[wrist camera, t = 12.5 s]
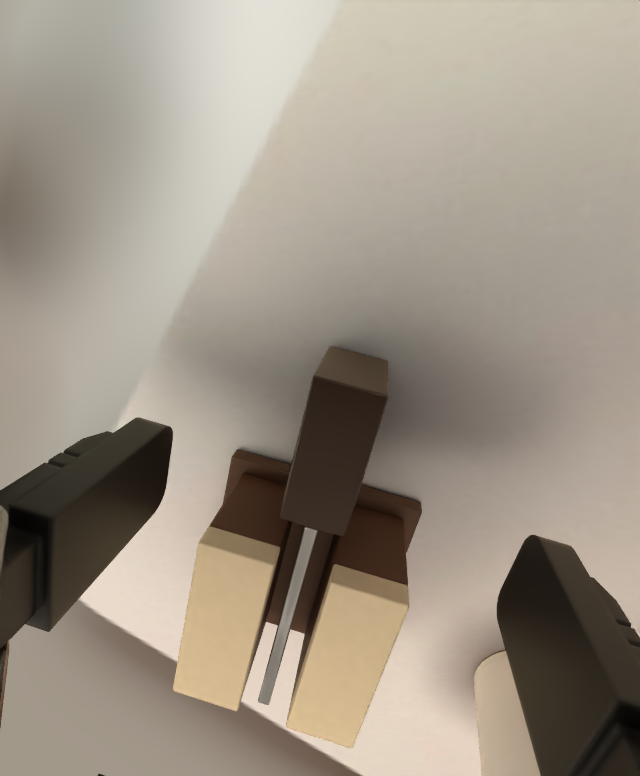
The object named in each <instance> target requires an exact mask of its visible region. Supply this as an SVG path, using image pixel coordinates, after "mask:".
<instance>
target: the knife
mask: <svg viewBox="0 0 640 776" xmlns="http://www.w3.org/2000/svg"><path fill="white" fill-rule="evenodd" d="M387 400H388V361H387V360H383V359H380V358H376V357H372V356H368V355H365V354H361V353H357V352H353V351H350V350H346V349H342V348H338V347H335V346H330V347H329V348H328V350H327V352H326V354H325V356H324V357H323V359H322V361H321V363H320V365H319V366H318V368H317V370H316V372H315V374H314V376H313V378H312V382H311V386H310V390H309V394H308V398H307V402H306V407H305V411H304V415H303V419H302V423H301V427H300V431H299V435H298V440H297V444H296V448H295V452H294V456H293V460H292V464H291V469H290V473H289V477H288V481H287V485H286V489H285V493H284V497H283V502H282V506H281V510H280V514H279V518H280V519H283V520H287V521H290V522H294V523H297V524H300V525H304V526H305V527H304V531H303V535H302V539H301V542H300V546H299V550H298V553H297V557H296V561H295V565H294V568H293V572H292V576H291V580H290V583H289V587H288V591H287V594H286V598H285V602H284V606H283V609H282V613H281V617H280V620H279V624H278V628H277V632H276V635H275V639H274V643H273V647H272V650H271V654H270V658H269V661H268V665H267V669H266V673H265V676H264V680H263V684H262V687H261V691H260V695H259V699H258V702H260V703H263V704H266V705H269V702H270V699H271V695H272V692H273V688H274V685H275V681H276V678H277V674H278V671H279V667H280V663H281V660H282V656H283V653H284V649H285V646H286V642H287V639H288V635H289V632H290V628H291V625H292V621H293V617H294V614H295V610H296V607H297V603H298V600H299V596H300V593H301V589H302V586H303V582H304V578H305V575H306V571H307V568H308V564H309V561H310V557H311V554H312V550H313V547H314V543H315V539H316V536H317V532H318V530H321V531H324V532H328V533H331V534H335V535H338V536H341V537H345V535H346V533H347V529H348V526H349V523H350V520H351V516H352V513H353V510H354V507H355V504H356V500H357V497H358V494H359V491H360V487H361V484H362V481H363V478H364V474H365V471H366V468H367V465H368V462H369V458H370V455H371V452H372V449H373V445H374V442H375V439H376V436H377V432H378V429H379V426H380V423H381V420H382V416H383V413H384V410H385V407H386V403H387Z"/></svg>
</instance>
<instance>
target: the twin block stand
mask: <svg viewBox="0 0 640 776" xmlns="http://www.w3.org/2000/svg"><path fill="white" fill-rule="evenodd" d="M290 469H291V465H289V464H286V463H282V462H279V461H275V460H272V459H268V458H265V457H262V456H258V455H255V454H251V453H248V452H244V451H241V450H237V451H236V452H235V453H234V455H233V456H232V460H231V465H230V470H229V475H228V480H227V486H226V491H225V496H224V501H223V505H222V507H221V508H220V510H219V512H218V513H217V515H216V516H215V518H214V520H213V521H212V523H211V524H210V526H209V527H208V529H207V530H206V532H205V534H204V535H203V537H202V538H201V540H200V541H199V544H198V549H197V555H196V561H195V566H194V572H193V578H192V583H191V589H190V595H189V600H188V606H187V612H186V617H185V623H184V629H183V634H182V640H181V646H180V651H179V657H178V663H177V669H176V674H175V680H174V686H173V691H176V692H179V693H182V694H185V695H188V696H191V697H194V698H198V699H201V700H203V701H207V702H210V703H213V704H216V705H219V706H222V707H225V708H228V709H231V710H234V711H237V710H238V708H239V705H240V701H241V698H242V695H243V692H244V689H245V685H246V683H247V679H248V676H249V673H250V670H251V667H252V664H253V661H254V657H255V654H256V651H257V648H258V645H259V642H260V639H261V635H262V632H263V629H264V626H265V623H266V622H269V623H272V624H275V625H278V624H279V620H280V617H281V613H282V609H283V606H284V602H285V598H286V594H287V591H288V587H289V583H290V580H291V576H292V572H293V568H294V565H295V561H296V557H297V553H298V550H299V546H300V542H301V539H302V535H303V531H304V527H305V526H304V525H300V524H297V523H294V522H290V521H287V520H283V519H280V518H279V514H280V510H281V506H282V502H283V497H284V493H285V489H286V485H287V481H288V477H289V473H290ZM421 513H422V509H421V503H420V502H418V501H414V500H411V499H407V498H404V497H400V496H397V495H393V494H390V493H386V492H383V491H379V490H376V489H372V488H369V487H366V486H362V485H361V487H360V491H359V494H358V497H357V500H356V504H355V507H354V510H353V513H352V516H351V520H350V523H349V526H348V529H347V533H346V535H345V537H341V536H338V535H335V534H331V533H328V532H324V531H321V530H318V532H317V536H316V539H315V543H314V547H313V550H312V554H311V557H310V561H309V564H308V568H307V571H306V575H305V578H304V582H303V586H302V589H301V593H300V596H299V600H298V603H297V607H296V610H295V614H294V617H293V621H292V625H291V628H290V629H292V630H295V631H298V632H301V633H304V634H305V636H304V641H303V646H302V651H301V655H300V660H299V665H298V670H297V674H296V679H295V684H294V689H293V694H292V698H291V703H290V708H289V713H288V718H287V722H286V727H287V728H290V729H293V730H296V731H299V732H302V733H305V734H309V735H312V736H315V737H318V738H321V739H324V740H327V741H330V742H333V743H336V744H339V745H342V746H345V747H349V748H353V745H354V743H355V740H356V738H357V735H358V733H359V730H360V728H361V725H362V723H363V720H364V718H365V715H366V713H367V710H368V708H369V706H370V703H371V701H372V698H373V696H374V693H375V691H376V688H377V686H378V683H379V681H380V678H381V676H382V673H383V671H384V668H385V666H386V663H387V661H388V658H389V656H390V653H391V651H392V648H393V646H394V643H395V641H396V638H397V636H398V633H399V631H400V628H401V626H402V623H403V621H404V618H405V616H406V613H407V611H408V608H409V595H408V578H407V562H406V552H407V550H408V547H409V545H410V542H411V539H412V537H413V534H414V531H415V529H416V526H417V523H418V521H419V518H420V515H421Z"/></svg>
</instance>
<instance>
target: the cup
mask: <svg viewBox="0 0 640 776" xmlns="http://www.w3.org/2000/svg"><path fill="white" fill-rule="evenodd" d="M474 686H475V700H476V711H477V727H478V738H479V749H480V760H481V771H482V776H541V775H540V772H539V768H538V765H537V761H536V757H535V754H534V750H533V747H532V743H531V739H530V736H529V732H528V729H527V725H526V721H525V718H524V714H523V711H522V707H521V703H520V700H519V696H518V693H517V689H516V685H515V682H514V678H513V674H512V671H511V667H510V664H509V660H508V656H507V653H506V651H503V652H499V653H496V654H494V655H492V656H490V657H488V658H487V659H485V660H484V661H483V662H482V663H481V664H480V665H479V667H478V668H477V670H476V672H475V676H474Z"/></svg>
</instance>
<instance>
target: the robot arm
mask: <svg viewBox="0 0 640 776" xmlns="http://www.w3.org/2000/svg"><path fill="white" fill-rule="evenodd" d="M172 440H173V431H172V428H171V427H170V426H166V425H163V424H159V423H156V422H153V421H149V420H146V419H143V418H135V419H133V420H132V421H131V422H129V423H128V424H126V425H125V426H123V427H122V428H120V429H119V430H117V431H116V432H114V433H111V432H108V431H107V432H104V433H100V434H97V435H94V436H90V437H87V438H83V439H82V440H80V441H78V442H77V443H75V444H74V445H72V446H70V447H69V448H67V449H66V450H65V451H64V453H59V454H58V455H56V456H54V457H53V458H51V459H50V460H49V462H48V463H43V464H42V465H40V466H39V467H37V468H35V469H34V470H32V471H31V472H29V473H28V474H26V475H24V476H23V477H21V478H19V479H18V480H16V481H15V482H13V483H12V484H10V485H8V486H7V487H5V488H4V489H2V490H0V726H1V717H2V708H3V699H4V690H5V682H6V673H7V664H8V656H9V640H10V639H11V638H12V637H13V636H14V635H15V633H17V631H19V629H20V628H21V627H22V626H23V625H24V624H27V625H30V626H33V627H36V628H39V629H42V630H45V631H47V632H49V631H50V630H51V629H52V628H53V626H55V624H56V623H57V622H58V621H59V620H60V619H61V618H62V617H63V615H64V614H65V613H66V612H67V611H68V610H69V609H70V608H71V606H72V605H73V604H74V603H75V602H76V601H77V600H78V599H79V597H80V596H81V595H82V594H83V593H84V592H85V591H86V590H87V588H88V587H89V586H90V585H91V584H92V583H93V582H94V581H95V579H96V578H97V577H98V576H99V575H100V574H101V573H102V572H103V570H104V569H105V568H106V567H107V566H108V565H109V564H110V563H111V561H112V560H113V559H114V558H115V557H116V556H117V555H118V553H119V552H120V551H121V550H122V549H123V548H124V547H125V546H126V544H127V543H128V542H129V541H130V540H131V539H132V538H133V537H134V535H135V534H136V533H137V532H138V531H139V530H140V529H141V528H142V526H143V525H144V524H145V523H146V522H147V521H148V520H149V519H150V517H151V516H152V515H153V514H154V513H155V511H156V510H157V508H158V507H159V505H160V503H161V501H162V498H163V496H164V493H165V489H166V484H167V476H168V469H169V462H170V454H171V447H172ZM497 620H498V624H499V628H500V631H501V635H502V638H503V642H504V646H505V649H506V653H507V656H508V660H509V664H510V667H511V671H512V674H513V678H514V682H515V685H516V689H517V693H518V696H519V700H520V703H521V707H522V711H523V714H524V718H525V721H526V725H527V729H528V732H529V736H530V739H531V743H532V747H533V750H534V754H535V757H536V761H537V765H538V768H539V772H540V775H541V776H640V638H639V636H638V634H637V633H636V631H635V630H634V629H632V628H631V623H630V622H629V620H628V618H627V617H626V615H625V614H624V612H623V611H622V609H621V607H620V606H619V604H618V603H617V601H616V600H615V599H614V598H613V597H612V596H611V595H610V594H609V593H608V592H607V591H606V590H605V589H604V588H603V587H602V586H601V585H600V584H599V583H598V582H597V581H596V580H595V579H594V578H592V577H590V576H589V574H588V572H587V571H586V569H585V567H584V566H583V564H582V562H581V561H580V559H579V557H578V555H577V554H576V552H575V550H574V549H573V548H572V547H571V546H569V545H566V544H563V543H559V542H556V541H553V540H549V539H546V538H542V537H539V536H536V535H530V536H529V537H528V538H527V539H526V540H525V541H524V543H523V545H522V547H521V549H520V551H519V553H518V555H517V557H516V559H515V561H514V563H513V565H512V567H511V569H510V572H509V574H508V576H507V578H506V580H505V582H504V584H503V586H502V588H501V590H500V593H499V597H498V602H497ZM98 776H104V775H101V774H98Z"/></svg>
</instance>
